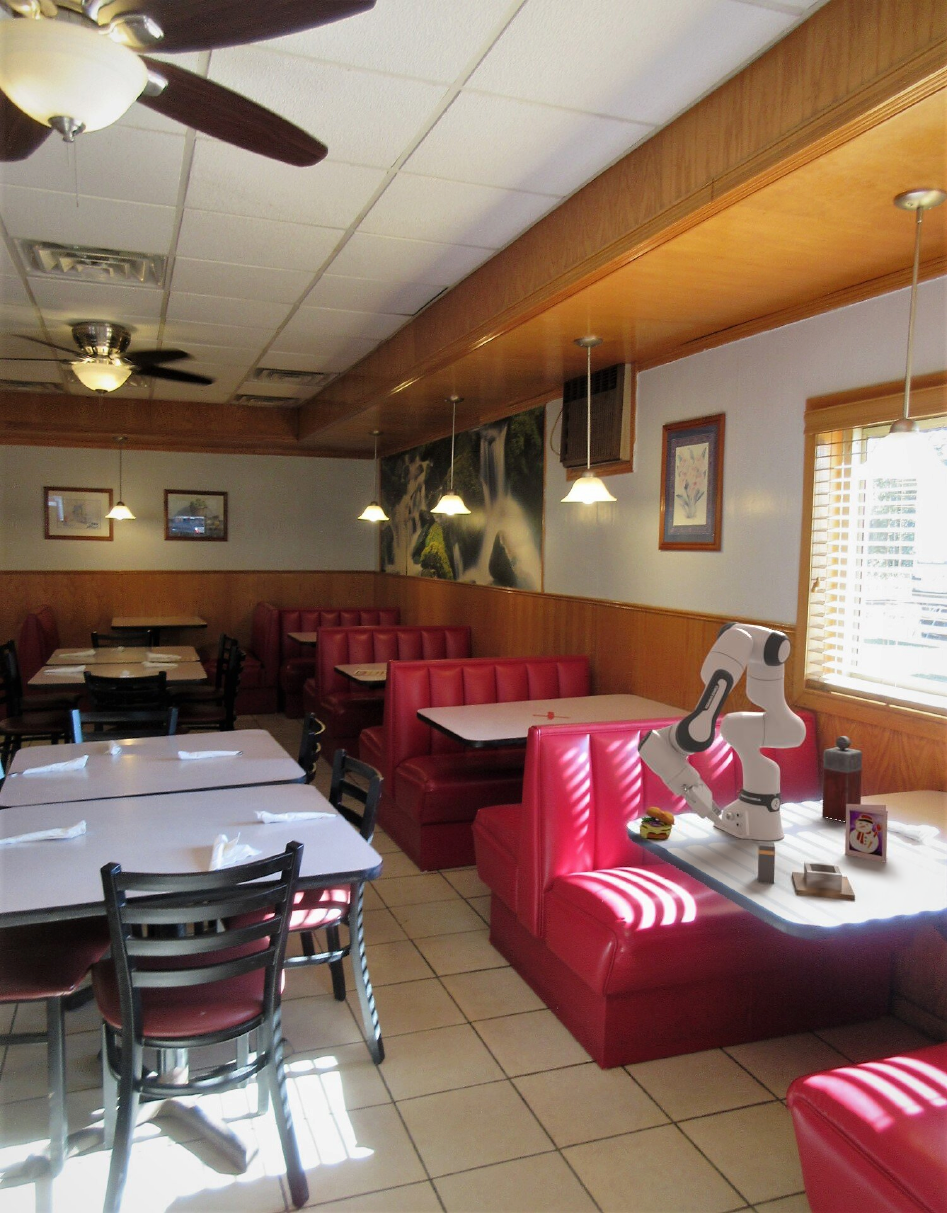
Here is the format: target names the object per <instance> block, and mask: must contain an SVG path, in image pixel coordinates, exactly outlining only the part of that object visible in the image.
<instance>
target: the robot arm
mask: <svg viewBox="0 0 947 1213" xmlns="http://www.w3.org/2000/svg"><path fill="white" fill-rule="evenodd" d="M791 650H792V644H791V640H790V638H789V637H788V636H787V634H786V633H783V632H782V631H778V630H772V629H769V628H767V627H764V626H762V625H761V626H760V625H753V624H747V623H746V624H745V623H740V622H735V621H732V622H731V621H730V622H729V621H728V622H726V623H725V624H724V625H722V626H721V627H720V628H719V630H718V632H717V636H716V641H715V643H714V644H713V645H712V647H711V649H710V651H709V652H708V654H707V655H706V657H705V658H704V661H703V664H702V666H701V669H700V670H701V671H700V678H701V680H702V682H703V684H704V685H705V688H704V690H703V692H702V694H701V696H700V698H699V700H698V703H697V704H696V706H695V708H694V710H693V711H692V712H691V713H690V714H688V715H686V716H685V717H684V718H683V719H681V720H679V721H676V722H675V723H673V724H670V725H669V726H665V727H662V728H659V729H658V728H657V729H650V730H648V731H647V732H646V733H645V735H644V736H643V737H642V738H641V739H640V741H639V743H638V745H637V753H638V755H639V756H640V758H641V759H642V761H643V762H644V763H645V764H646V765H647V766H648V768H649V769H651V771H652V772H653V773H655V775H657V776H659V777H660V778H661V780H662V782H663V784H664V785H665V786H666V787H667V788H668V789H669V790H670V791H671V792H672V793H673V794H674V795H675V796H676V797H680V796H682V797H683V798H684V801H686V803H687V805H689V807H690V808H691V809H692V810H693V811H694V812H695V814H696V815H698V817H700V818H701V819H705V818H707V819H708V820H709V821H710V822H713V823H714V824H713V826H714V827H715V828H718V829H720V830H722V831H724V832H725V833H728V834H730V835H732V836H734V837H736V838H738V839H744V840H746V839H747V840H758V841H777V840H781V839H783V838H784V837H785V833H784V829H783V824H782V815H781V804H782V791H781V789H780V788H781V784H780V783H781V770H780V766H779V764H777V762H776V761H774V760H772V759H771V758H769V757H766V756H764V755H763V754H762V753H761V751H760V749H762V748H770V749H771V748H772V749H773V748H774V749H790V748H797V747H800V746H801V745H802V744H803V743H804V741H805V739H806V735H807V729H806V725H805V722H804V721H803V719H802V718H801V717H800V716H798V715H797V714H795V712H793V710H791V709H790V707H789V706H788V703H787V701H786V698H785V663H786V662H787V660H788V659H789V656H790V654H791ZM746 667H747V668H746ZM745 670H746V682H745V683H746V685H745V694H746V696H747V698H748V700H749V701H750V702H752V703H753V704H755V705H756V706H757V707H758V706H759V707H760V708H762V709H763V710H764V711H763V712H759V711H755V712H753V711H736V712H730V713H727V714H725V715H724V717H723V718H722V720H721V722H720V727H719V730H720V735H721V737H722V739H723V740H724V741H725V742H726V743H727V744H728V745H729V746H731V748H732V749H733V750H734V751H735V752H736V754H737V756H738V757H739V759H740V762H741V766H742V780H743V781H742V782H743V785H742V788H738V789H737V791H736V794H739V795H738V798H737V799H736V800H734V801H733V802H731V803H729V804H728V805H725V807H723V810H721V809H720V807H719V806H718V804H716V802H715V801H714V800H713V792H712V791H711V789H710V788H709V787H708V786H707V784H706V783H705V782H704V780H703V779H701V774H700V772H698V771H697V769H695V768H694V767H693V766H692V765H691V764H690V763H689V762H688V761H687V758H688V757H689V756H690V755H694V754H697V753H703V752H705V751H707V750H709V749H710V747H711V746H712V745H713V743H714V741H715V736H716V725H717V722H718V721H717V720H718V717H719V716H720V713H721V711H722V709H723V707H724V705H725V703H726V701H727V699H728V697H729V695H730V693H731V692H732V690H733V689H734V687H736V685H737V684H738V682H739V680H740V679H741V677H742V676H743V674H744V671H745ZM720 816H721V818H720Z"/></svg>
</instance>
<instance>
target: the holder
mask: <svg viewBox="0 0 947 1213" xmlns="http://www.w3.org/2000/svg"><path fill="white" fill-rule="evenodd" d="M791 877H792V881H793V886H794V889H795V893H796V895H801V896H811V897H820V898H821V897H823V898H832V899H841V900H851V901H856V894H855V893H854V890H853V888H852V885H851V884H850V881H849V879H848V876H843V875H842V871H841V869H840V867H839V865H838V864H836V863H824V862H823V863H822V862H813V861H804V863H803V872H800V871H799V872H798V871H791Z"/></svg>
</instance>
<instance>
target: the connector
mask: <svg viewBox="0 0 947 1213" xmlns="http://www.w3.org/2000/svg"><path fill="white" fill-rule="evenodd" d="M757 846H758V847H757V848H758V851H757V853H758V854H757V882H758V883H762V884H763V883H764V884H771V885H772V884H775V864H776V863H775V860H776V858H775V857H776V847H775V846H776V845H775V842H772V841H771V842H770V841H762V840H758V845H757Z"/></svg>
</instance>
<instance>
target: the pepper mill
mask: <svg viewBox="0 0 947 1213" xmlns="http://www.w3.org/2000/svg"><path fill="white" fill-rule="evenodd" d="M851 743H852V742H851V740H850V738H849V737H848V736H846V735H842V736H838V737H837V738H836V739H835V745H836V747H831V748H828V749H824V751H823V770H822V771H823V772H822V774H823V775H822V776H823V777H822V778H823V779H822V816H821V817H822V818H824V817H828V818H832V819H837V820H841V821H845V822H846V804H862V801H861V800H862V777H863V776H862V770H863V768H862V767H863V766H862V765H863V752H862V750H858V749H853V748H850V746H851ZM828 818H827V819H828ZM832 819H831V820H832Z"/></svg>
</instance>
